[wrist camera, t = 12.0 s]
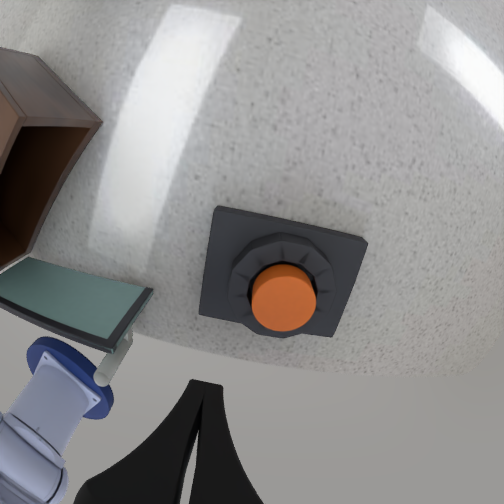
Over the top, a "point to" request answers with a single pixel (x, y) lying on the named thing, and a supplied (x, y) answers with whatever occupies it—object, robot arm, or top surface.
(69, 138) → the cabinet
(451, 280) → the top surface
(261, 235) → the switch block
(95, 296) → the glass door
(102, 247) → the top surface
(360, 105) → the top surface
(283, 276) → the light button
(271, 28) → the top surface
